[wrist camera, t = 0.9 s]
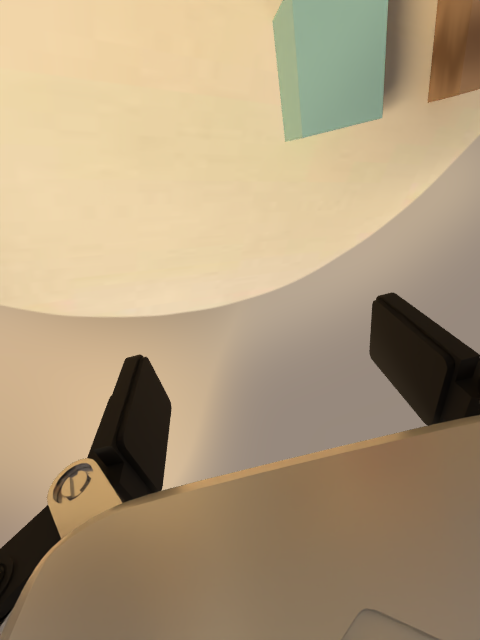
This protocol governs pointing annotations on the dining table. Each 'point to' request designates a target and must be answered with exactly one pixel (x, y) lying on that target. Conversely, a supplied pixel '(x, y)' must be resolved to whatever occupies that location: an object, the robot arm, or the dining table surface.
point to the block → (330, 63)
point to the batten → (455, 49)
